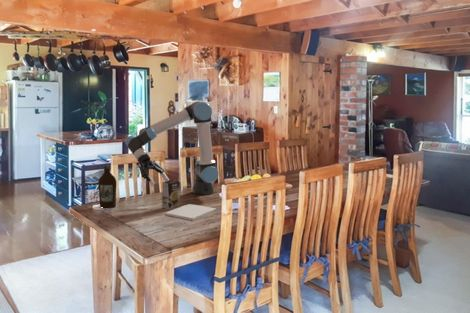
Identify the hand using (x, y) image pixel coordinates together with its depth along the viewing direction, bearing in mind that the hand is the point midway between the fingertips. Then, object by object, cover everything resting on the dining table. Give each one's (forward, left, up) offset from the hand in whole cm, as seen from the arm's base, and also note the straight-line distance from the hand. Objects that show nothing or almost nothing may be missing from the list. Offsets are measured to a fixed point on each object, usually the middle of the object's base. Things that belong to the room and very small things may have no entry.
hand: (160, 183), depth 262 cm
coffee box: (-1, +7, -15) cm, 16 cm away
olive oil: (+19, -26, -15) cm, 35 cm away
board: (+2, +24, -14) cm, 28 cm away
